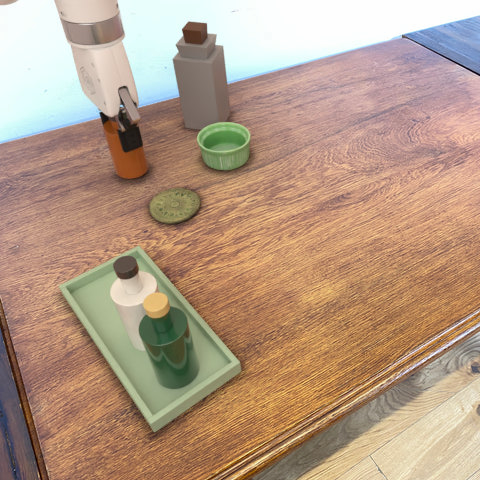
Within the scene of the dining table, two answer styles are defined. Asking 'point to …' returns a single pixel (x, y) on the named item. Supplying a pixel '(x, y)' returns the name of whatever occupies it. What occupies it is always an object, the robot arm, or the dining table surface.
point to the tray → (137, 362)
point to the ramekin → (224, 145)
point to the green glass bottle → (168, 342)
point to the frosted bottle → (131, 296)
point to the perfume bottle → (201, 77)
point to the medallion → (174, 205)
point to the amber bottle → (124, 163)
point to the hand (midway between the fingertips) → (124, 139)
